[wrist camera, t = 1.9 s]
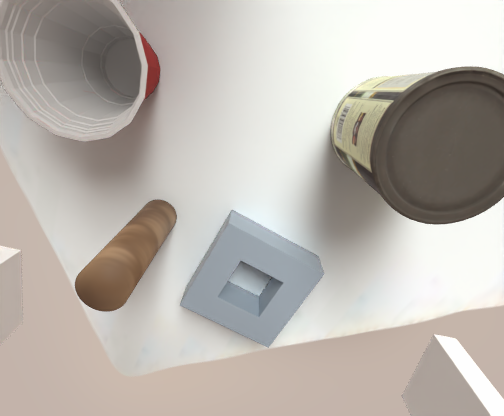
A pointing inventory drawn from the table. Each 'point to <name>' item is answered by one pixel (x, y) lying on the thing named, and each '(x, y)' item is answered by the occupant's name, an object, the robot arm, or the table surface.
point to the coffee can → (427, 141)
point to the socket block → (241, 301)
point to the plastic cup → (75, 65)
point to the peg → (125, 258)
